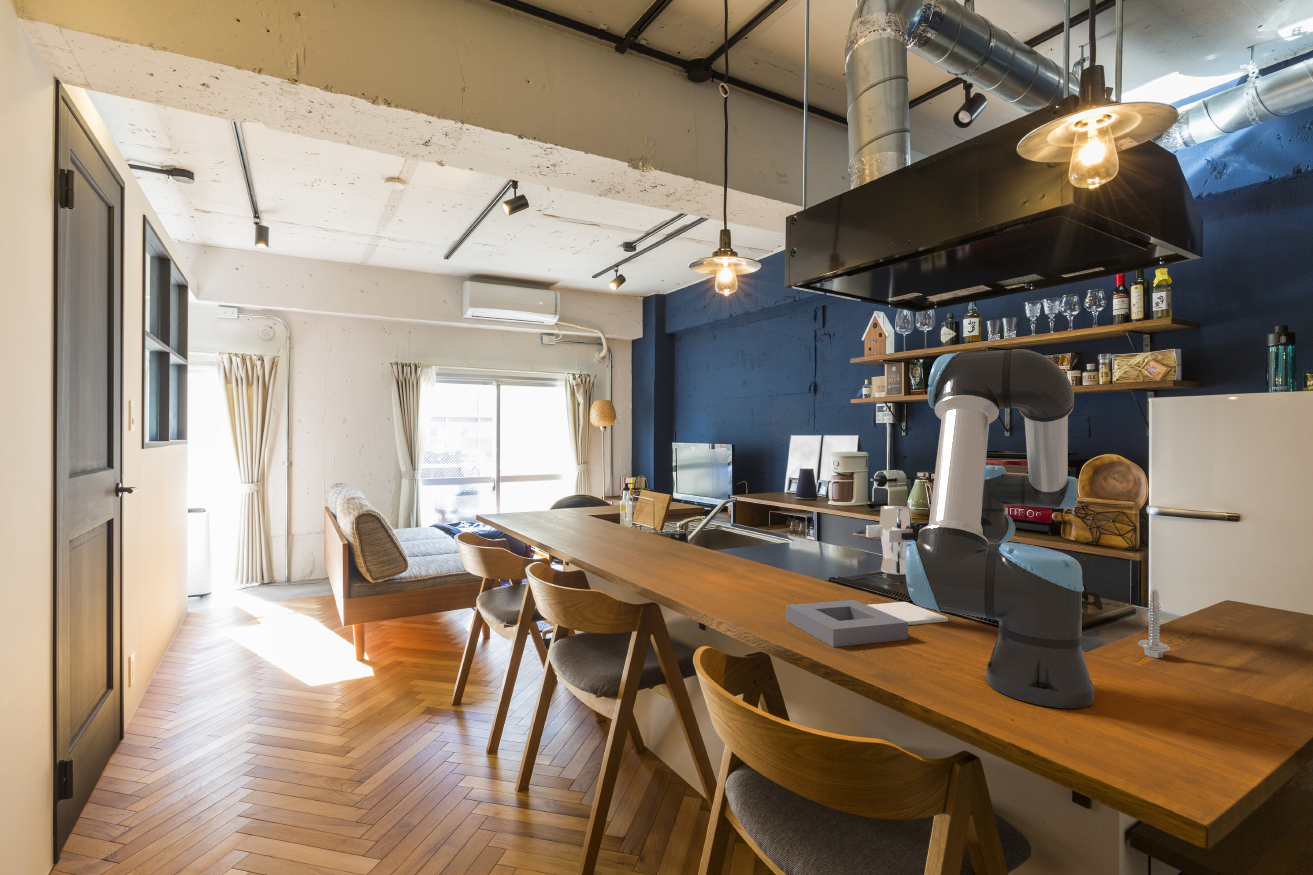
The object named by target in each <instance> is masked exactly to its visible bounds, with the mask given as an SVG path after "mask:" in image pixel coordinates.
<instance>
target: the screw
mask: <svg viewBox="0 0 1313 875" xmlns="http://www.w3.org/2000/svg"><path fill="white" fill-rule="evenodd" d="M1149 599H1150V600H1149V603H1148V605H1149V606H1148V608H1149V609H1148V631H1147V632H1148V633H1147V635H1148V636H1147V638H1148V639H1140V640H1139V641H1137V645H1138V646H1139V647H1142V649H1144V650H1143V654H1144V655H1146V656H1147V657H1149V658H1155V659H1161V658H1164V652H1168V651H1170V650H1171V647H1170V646H1169V645H1168V644H1166V643H1164V642H1161V640H1160V639H1161V633H1160V632H1161V628H1160V627H1161V625H1160V623H1161V606H1160V605H1161V603H1160V594H1159V591H1158V590H1157V589H1156V588H1154V589H1151V591H1150V598H1149Z"/></svg>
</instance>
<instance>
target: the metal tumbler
mask: <svg viewBox="0 0 1313 875" xmlns="http://www.w3.org/2000/svg"><path fill="white" fill-rule="evenodd" d="M912 522H913V521H912V508H911V507H909V506H902V505H901V506H900V505H882V506H880V514H879V525H880V536H881V537H880V541H881V546H882V547H881V549H882V563H881V568H880V570H881V571H880V572H882V573H887V574H891V575H906V571H905V550H906V547H907V543H908V542H892V543H889V542H887V530H901V529H912Z"/></svg>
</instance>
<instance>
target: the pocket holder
mask: <svg viewBox="0 0 1313 875" xmlns="http://www.w3.org/2000/svg"><path fill="white" fill-rule="evenodd" d="M868 605H869V604H865V603H863V602H861V601H858V600H855V599H849V600H848V599H845V600H833V601H821V602H808V603H797V604H796V603H795V604H786V605H785V621H786V622H787V623H789V624H791V625H793V626H795V627H796V628H798V629H800V630H802V631H803V632H806V633H807V634H809V635H810V636H813V637H814V638H816V639H818V640H820V641H822V642H823V643H824V644H827V645H829V646H830V647H831V648H836V647H848V646H854V645H856V646H858V645H866V644H876V643H885V642H894V641H903V640H909V625H908V622H907V621H904V620H902V619H899V618H897V617H895V616H892V615H890V614H887V613H885V612H882V611H880V610H878V609H875V608H873V607H870V606H868Z"/></svg>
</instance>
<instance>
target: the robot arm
mask: <svg viewBox="0 0 1313 875" xmlns="http://www.w3.org/2000/svg"><path fill="white" fill-rule="evenodd" d="M927 384H928V387H927V401H928V405H929V407H930V408H931V409H934V414H935V416H936V417H937V418H938V419H939V420H941V422H940V429H939V437H938V445H937V452H936V453H937V454H936V460H935V469H934V478H933V488H932V496H931V504H930V511H929V519H928V520H929V521H925V522H919V521H912V529H901V530H887V542H889V543H892V542H908V543H907V547H906V550H905V571H906V574H905V579H906V587H907V591H908V594H909V597H910V599H911V601H912V602H913V604H914V605H915V606H918V607H921V608H923V609H931V610H936V611H937V612H947V613H954V614H959V615H965V616H973V617H976V618H977V617H979V618H983V619H989V620H990V619H992V620H997V621H998V636H997V639H996V642H995V645H994V647H993V649H992V652H991V655H990V659H989V661H988V662H987V664H986V669H985V672H986V673H985V674H986V675H985V680H986V682H987V684H988V685H989V686H990V687H991V688H992V689H994V690H996V691H997V692H999V693H1001V694H1003V695H1005V696H1008V697H1010V698H1013V699H1016V700H1018V701H1019V700H1020V701H1022V702H1026V703H1029V704H1033V705H1037V706H1044V707H1048V708H1049V707H1050V708H1056V709H1057V708H1059V709H1082V708H1086V707H1089V706H1092V704H1094V702H1095V686H1094V683H1093V680H1091V675H1090V673H1089V669H1088V666H1087V663H1086V662H1087V661H1086V660H1085V657H1084V655H1083V654H1084V653H1083V650H1082V636H1083V634H1082V633H1083V631H1082V630H1083V629H1082V628H1083V627H1082V626H1083V625H1082V620H1083V615H1082V614H1083V613H1082V609H1083V604H1082V602H1083V600H1082V598H1083V597H1082V596H1083V595H1082V594H1083V592H1084V590H1085V587H1084V585H1083V570H1082V565H1081V564H1080V563H1079V561H1078V560H1077V559H1076V558H1074V557H1072V556H1070V555H1069V554H1067V553H1064V552H1060V551H1058V550H1054V549H1050V548H1047V547H1042V546H1037V545H1033V544H1027V543H1021V542H1020V543H1017V542H1012V541H1011V542H1009V541H1010V540H1012V539H1013V537H1014V535H1015V533H1016V524H1015V522H1014V519H1013V518H1012V517H1011V516H1010V515H1009V514H1007V513H1006V506H1020V507H1021V506H1023V507H1035V508H1046V509H1055V510H1058V509H1068V510H1069V509H1074V508H1076V507H1077V505H1078V479H1077V478H1076V477H1074V476H1069V475H1068V473H1069V472H1068V470H1069V469H1068V468H1069V467H1068V466H1069V465H1068V464H1069V460H1068V456H1069V455H1068V450H1069V449H1068V447H1069V446H1068V444H1069V440H1068V439H1069V438H1068V436H1069V435H1068V434H1069V432H1068V429H1069V428H1068V427H1069V424H1068V423H1069V421H1068V420H1069V417H1068V416H1069V415H1070V414H1071V413H1072V411H1073V410H1074V405H1075V393H1074V390H1073V386H1072V383H1071V381H1070V379H1069V378H1068V376H1067V374H1066V373H1065V372H1064V371H1063V370H1062V368H1061V367H1060V366H1059V365H1058V364H1057V363H1055V362H1054V361H1053V360H1051V359H1050V358H1048V357H1047V356H1045V355H1043V354H1041V353H1039V352H1037V351H1032V350H1029V349H1025V348H1024V349H1022V348H1021V349H1019V348H1015V349H1014V348H1013V349H1008V350H1007V349H1005V350H1004V349H1003V350H990V351H988V350H987V351H975V352H974V351H973V352H963V351H957V352H956V353H955V352H954V353H945V354H942V355H940V356H939V357H937V358H936V360H935V361H934V362H933V364H932V368H931V370H930V374H929V377H928V383H927ZM1000 409H1018V411H1019V413H1020V414H1021V416H1022V417H1023V418H1024V427H1025V430H1024V431H1025V442H1026V444H1025V445H1026V458H1027V470H1028V473H1027V474H1021V473H1020V474H1019V473H1018V474H1017V473H1007V470H1006V469H1007V468H1006V467H1005V466H1003V465H994V464H993V465H990V464H989V465H988V464H987V453H988V452H987V451H988V442H989V429H990V424H991V423H993V422H994V421H995V420H997V418H998V416H999V414H1000ZM986 464H987V465H986ZM865 526H866V527H865V537H867V538H881V536H880V524H872V525H871V524H869V525H865ZM998 544H1000V546H999V547H998V550H994V549H989V545H998Z"/></svg>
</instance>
